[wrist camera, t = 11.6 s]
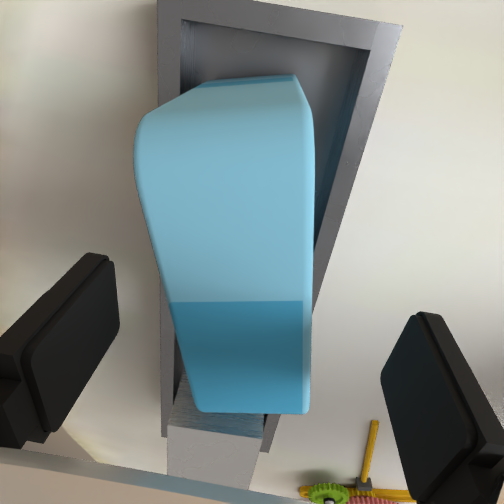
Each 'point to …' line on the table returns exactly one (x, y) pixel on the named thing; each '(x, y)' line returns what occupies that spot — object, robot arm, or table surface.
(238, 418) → the rack
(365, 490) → the mechanical gear assembly
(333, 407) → the table surface
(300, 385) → the data package
